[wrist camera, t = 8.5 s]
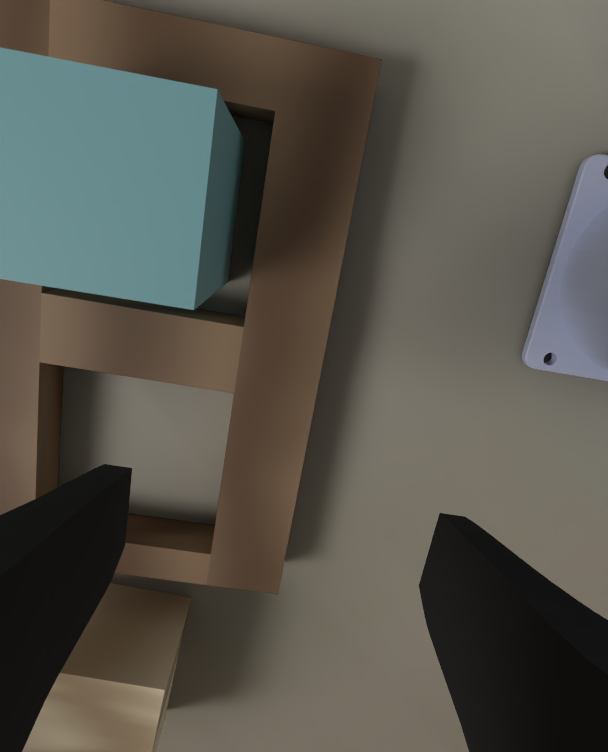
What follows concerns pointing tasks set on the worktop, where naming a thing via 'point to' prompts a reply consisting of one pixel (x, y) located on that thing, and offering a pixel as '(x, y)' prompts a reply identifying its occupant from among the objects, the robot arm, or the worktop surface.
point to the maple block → (115, 676)
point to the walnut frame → (201, 327)
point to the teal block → (115, 181)
